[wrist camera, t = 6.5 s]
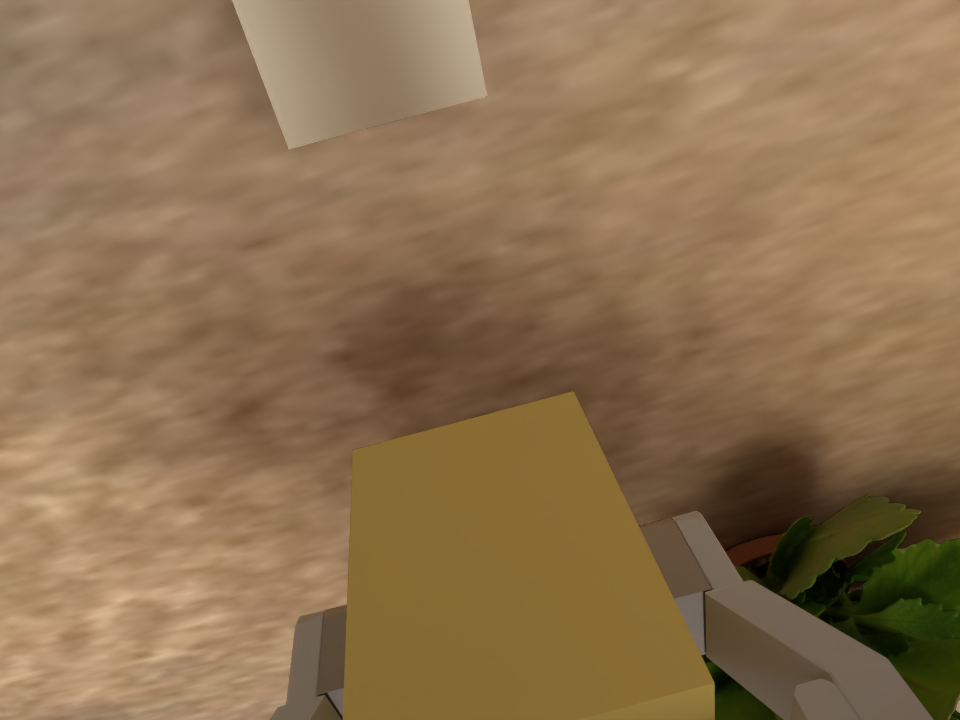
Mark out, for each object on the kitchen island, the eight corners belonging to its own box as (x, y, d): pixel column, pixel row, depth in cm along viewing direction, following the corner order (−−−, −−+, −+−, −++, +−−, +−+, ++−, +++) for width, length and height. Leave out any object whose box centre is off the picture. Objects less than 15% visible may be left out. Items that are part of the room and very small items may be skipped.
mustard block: (573, 390, 12) (714, 683, 7) (598, 539, 15) (716, 836, 10) (352, 449, 12) (340, 784, 7) (414, 589, 15) (437, 912, 10)
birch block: (410, -123, 16) (436, -163, 11) (451, 62, 19) (487, 96, 14) (242, -79, 16) (193, -102, 11) (305, 101, 19) (289, 149, 14)
